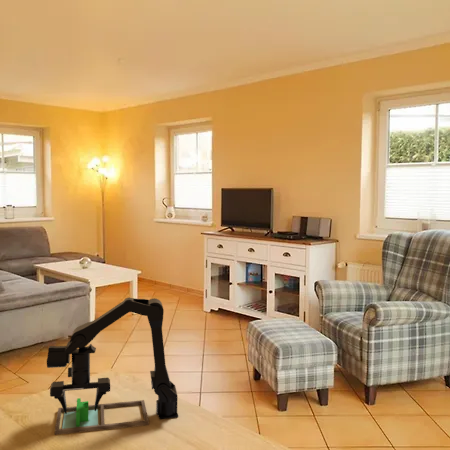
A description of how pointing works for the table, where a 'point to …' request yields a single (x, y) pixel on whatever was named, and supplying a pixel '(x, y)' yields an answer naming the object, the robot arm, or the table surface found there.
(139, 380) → the table surface
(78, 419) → the pipe clamp
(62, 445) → the table surface
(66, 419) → the sorting frame
